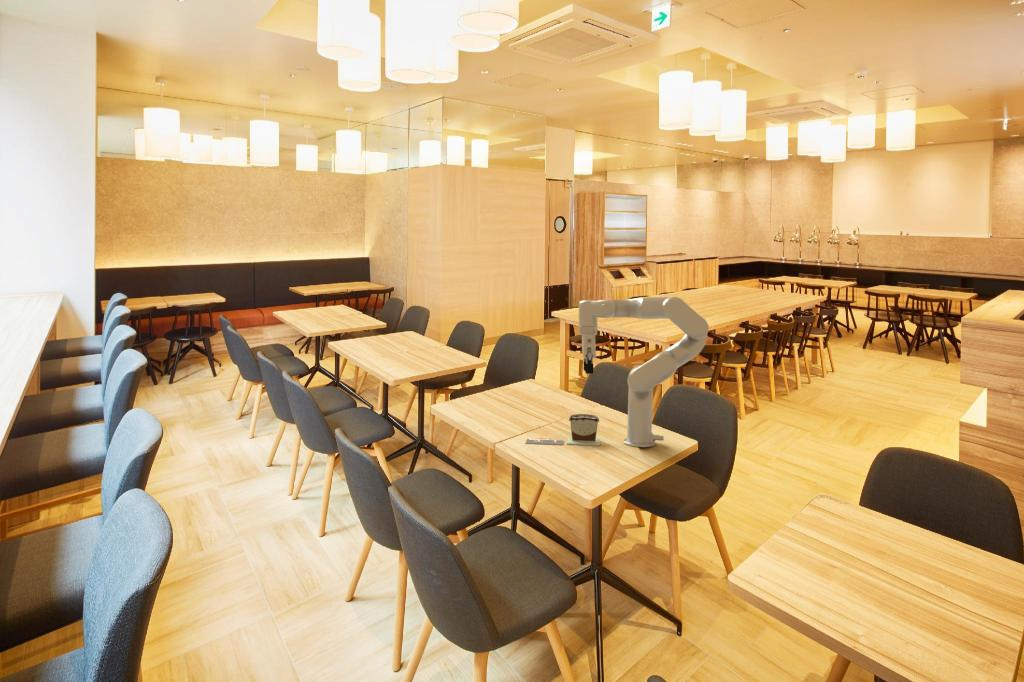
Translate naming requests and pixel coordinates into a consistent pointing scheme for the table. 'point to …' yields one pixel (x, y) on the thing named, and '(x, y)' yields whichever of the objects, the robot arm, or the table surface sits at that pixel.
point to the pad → (582, 442)
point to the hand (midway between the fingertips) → (588, 372)
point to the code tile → (545, 442)
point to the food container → (584, 427)
